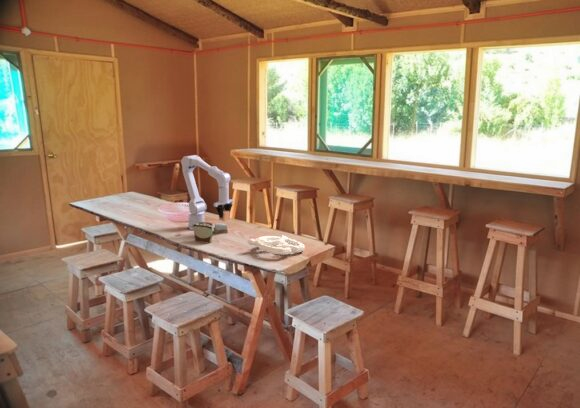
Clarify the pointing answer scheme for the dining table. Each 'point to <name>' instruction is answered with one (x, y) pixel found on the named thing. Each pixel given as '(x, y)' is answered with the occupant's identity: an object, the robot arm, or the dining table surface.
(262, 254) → the dining table surface
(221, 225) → the top slab
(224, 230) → the bottom slab
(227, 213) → the peach foam cube
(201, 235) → the food container
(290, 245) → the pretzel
